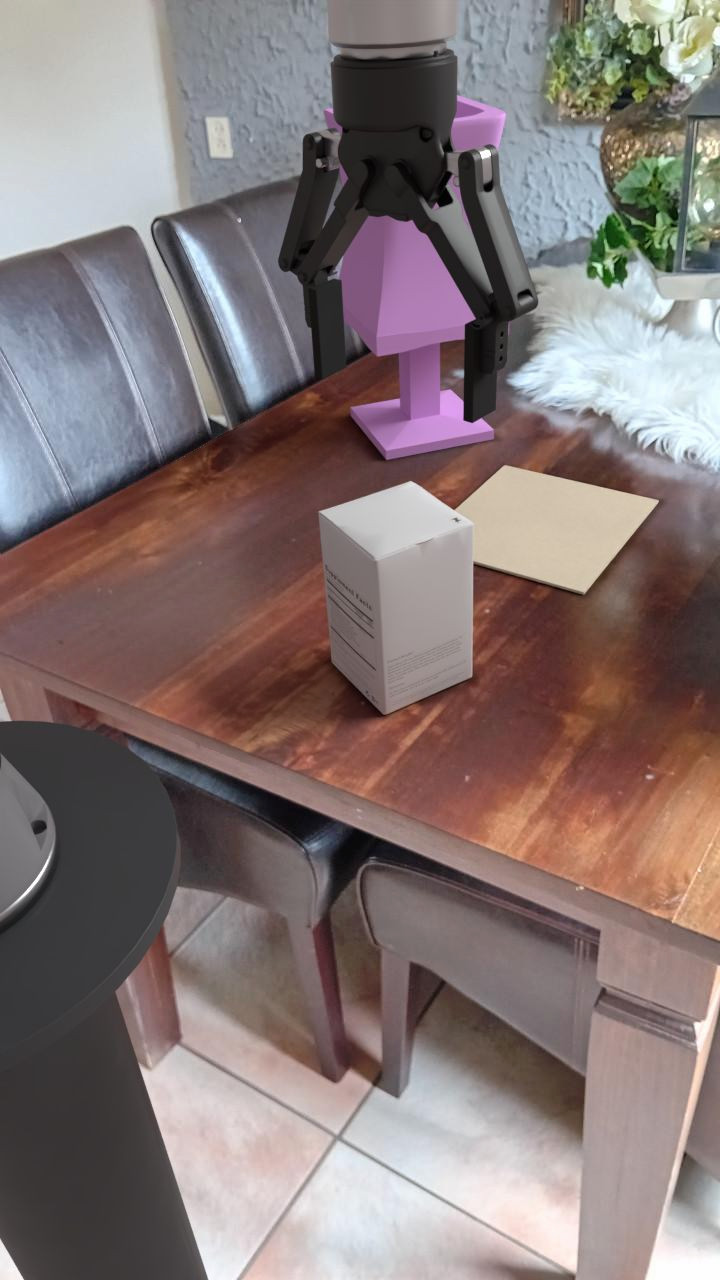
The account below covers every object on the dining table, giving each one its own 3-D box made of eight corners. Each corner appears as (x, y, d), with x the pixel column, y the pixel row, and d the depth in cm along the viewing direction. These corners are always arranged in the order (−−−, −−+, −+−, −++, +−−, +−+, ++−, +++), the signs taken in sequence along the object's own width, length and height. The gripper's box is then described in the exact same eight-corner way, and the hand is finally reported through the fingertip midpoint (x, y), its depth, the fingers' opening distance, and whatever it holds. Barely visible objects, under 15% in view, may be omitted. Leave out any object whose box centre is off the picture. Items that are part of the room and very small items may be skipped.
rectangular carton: (416, 627, 90) (413, 476, 81) (474, 678, 84) (478, 521, 75) (327, 661, 86) (314, 508, 78) (382, 718, 80) (374, 558, 71)
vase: (454, 393, 132) (456, 94, 111) (504, 440, 120) (517, 114, 99) (341, 414, 128) (321, 108, 108) (381, 464, 116) (368, 131, 95)
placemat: (415, 547, 101) (415, 544, 101) (504, 467, 114) (504, 464, 114) (583, 595, 93) (584, 592, 92) (658, 502, 106) (658, 500, 106)
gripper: (615, 48, 54) (582, 416, 67) (286, 35, 68) (310, 342, 80) (539, 66, 50) (519, 457, 62) (203, 48, 63) (242, 371, 76)
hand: (401, 393), depth 71 cm, fingers open, 13 cm apart
